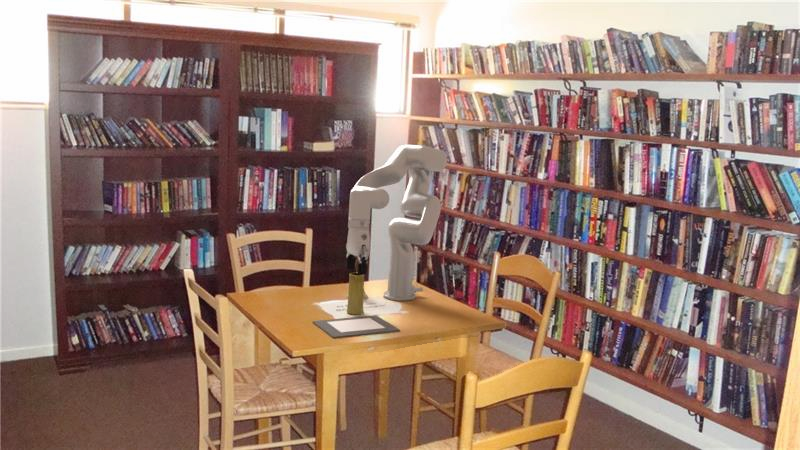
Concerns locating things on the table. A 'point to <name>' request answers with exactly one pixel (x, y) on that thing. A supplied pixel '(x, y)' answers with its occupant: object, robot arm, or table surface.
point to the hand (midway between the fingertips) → (356, 271)
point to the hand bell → (357, 271)
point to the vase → (355, 294)
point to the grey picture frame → (355, 326)
